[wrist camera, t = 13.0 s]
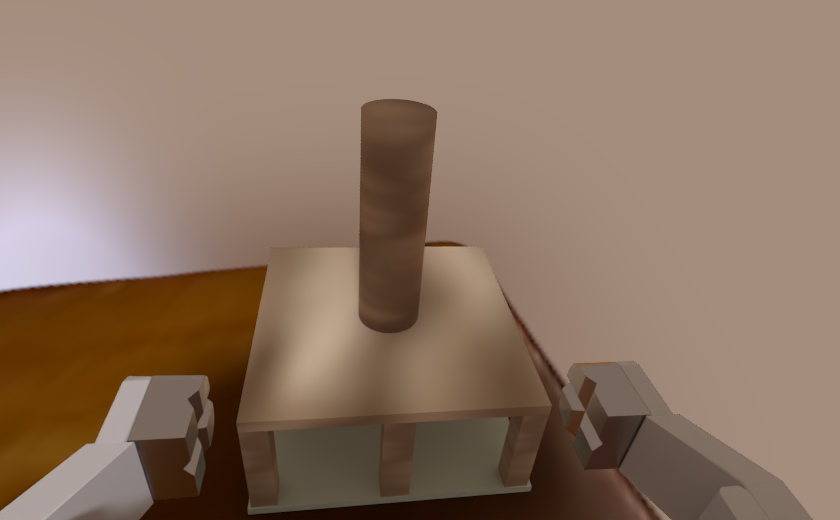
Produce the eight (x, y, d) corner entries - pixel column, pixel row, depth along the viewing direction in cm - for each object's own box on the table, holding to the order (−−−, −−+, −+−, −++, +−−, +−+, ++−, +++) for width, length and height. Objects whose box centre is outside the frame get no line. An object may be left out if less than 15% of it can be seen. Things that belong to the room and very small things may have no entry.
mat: (248, 514, 24) (247, 509, 24) (276, 323, 36) (276, 318, 36) (530, 491, 26) (531, 486, 26) (471, 317, 38) (472, 313, 38)
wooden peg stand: (251, 507, 24) (191, 173, 15) (278, 321, 35) (254, 65, 26) (526, 485, 26) (622, 179, 17) (470, 316, 37) (509, 76, 28)
